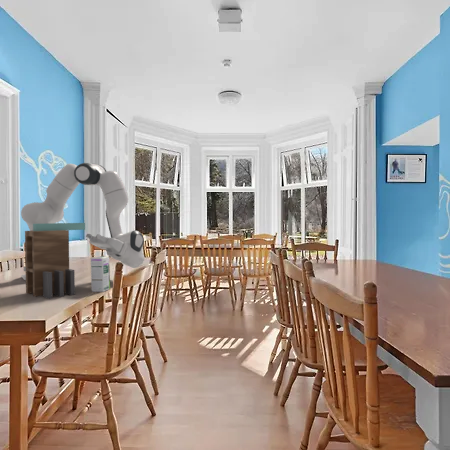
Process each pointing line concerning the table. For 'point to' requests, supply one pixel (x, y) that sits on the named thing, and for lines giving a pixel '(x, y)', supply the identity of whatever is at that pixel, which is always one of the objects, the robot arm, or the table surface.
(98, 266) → the syrup box
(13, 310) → the table surface
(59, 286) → the domino
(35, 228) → the teal tile bar
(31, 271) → the walnut stand
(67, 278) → the domino
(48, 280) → the domino
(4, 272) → the table surface
